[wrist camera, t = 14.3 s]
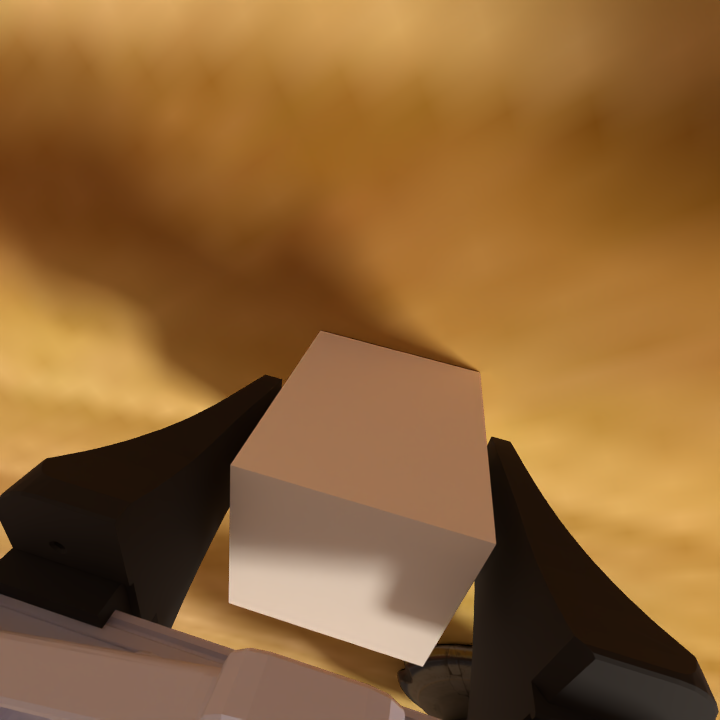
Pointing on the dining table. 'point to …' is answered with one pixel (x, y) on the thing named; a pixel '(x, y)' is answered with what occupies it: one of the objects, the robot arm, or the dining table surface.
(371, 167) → the dining table surface
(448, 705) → the apothecary jar
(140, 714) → the robot arm
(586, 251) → the dining table surface
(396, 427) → the beige block
